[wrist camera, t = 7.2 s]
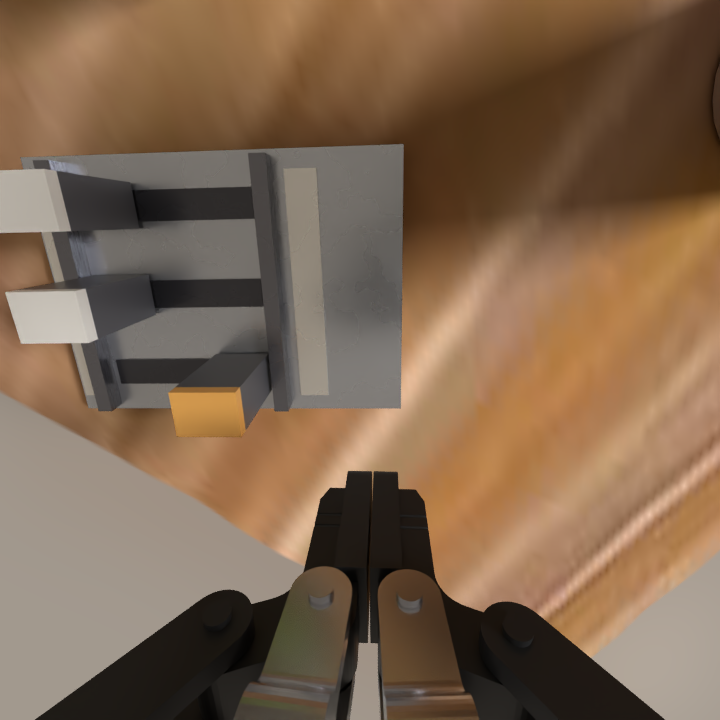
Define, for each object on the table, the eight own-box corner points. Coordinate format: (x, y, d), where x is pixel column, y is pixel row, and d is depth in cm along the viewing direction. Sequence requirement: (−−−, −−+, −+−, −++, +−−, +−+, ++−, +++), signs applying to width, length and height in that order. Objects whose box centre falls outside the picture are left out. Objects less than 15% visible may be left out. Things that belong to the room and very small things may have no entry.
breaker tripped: (268, 353, 22) (235, 392, 17) (271, 389, 23) (241, 437, 18) (216, 353, 23) (168, 392, 18) (221, 389, 23) (177, 437, 18)
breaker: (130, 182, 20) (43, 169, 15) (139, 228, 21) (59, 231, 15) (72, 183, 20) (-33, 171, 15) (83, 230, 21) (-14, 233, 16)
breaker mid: (148, 274, 21) (75, 290, 16) (156, 314, 22) (88, 343, 17) (94, 275, 21) (5, 292, 16) (103, 315, 22) (21, 343, 17)
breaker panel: (401, 149, 20) (404, 139, 18) (399, 397, 25) (401, 416, 22) (44, 161, 21) (2, 154, 19) (104, 397, 26) (77, 415, 23)
